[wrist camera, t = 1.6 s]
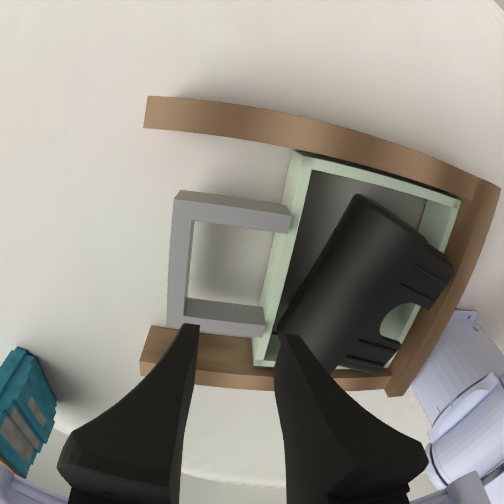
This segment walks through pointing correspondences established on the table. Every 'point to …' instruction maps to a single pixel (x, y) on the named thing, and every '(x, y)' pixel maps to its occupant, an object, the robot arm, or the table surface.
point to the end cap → (363, 287)
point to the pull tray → (282, 250)
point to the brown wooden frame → (354, 150)
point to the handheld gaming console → (24, 411)
